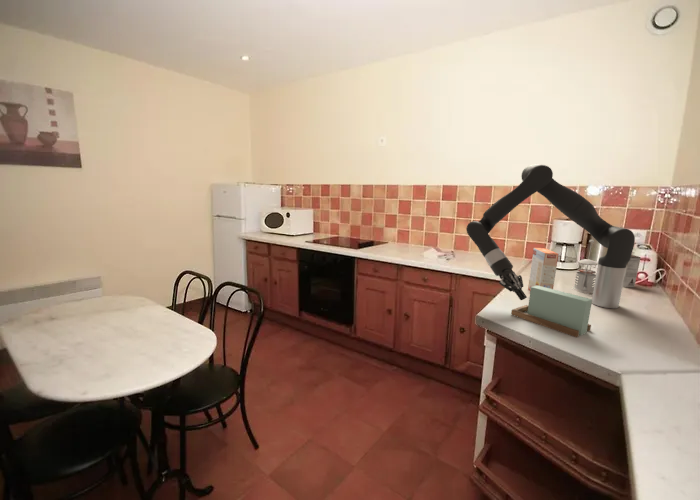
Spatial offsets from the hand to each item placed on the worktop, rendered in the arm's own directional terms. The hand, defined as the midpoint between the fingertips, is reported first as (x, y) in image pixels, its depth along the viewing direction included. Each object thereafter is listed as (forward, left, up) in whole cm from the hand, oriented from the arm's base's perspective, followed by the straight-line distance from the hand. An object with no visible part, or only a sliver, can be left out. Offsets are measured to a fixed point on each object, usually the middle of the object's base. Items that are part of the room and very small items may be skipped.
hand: (524, 298), depth 125 cm
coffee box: (-87, +5, -6) cm, 87 cm away
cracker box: (-31, -9, -6) cm, 33 cm away
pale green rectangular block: (0, +12, -6) cm, 14 cm away
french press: (-57, -1, -6) cm, 57 cm away
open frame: (0, +10, -6) cm, 11 cm away
